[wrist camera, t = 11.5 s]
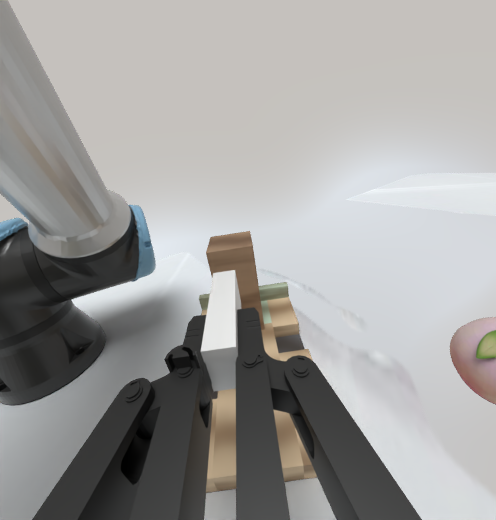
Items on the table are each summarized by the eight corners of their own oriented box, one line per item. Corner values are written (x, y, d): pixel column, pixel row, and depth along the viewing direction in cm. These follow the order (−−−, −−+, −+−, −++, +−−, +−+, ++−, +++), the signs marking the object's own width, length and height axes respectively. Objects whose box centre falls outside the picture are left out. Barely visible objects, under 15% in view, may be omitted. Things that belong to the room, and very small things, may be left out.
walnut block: (264, 329, 34) (252, 245, 28) (226, 335, 35) (206, 253, 28) (260, 305, 40) (249, 231, 34) (227, 310, 40) (210, 237, 34)
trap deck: (348, 472, 20) (351, 443, 18) (174, 497, 21) (157, 470, 18) (288, 304, 43) (286, 282, 41) (206, 316, 43) (199, 295, 41)
